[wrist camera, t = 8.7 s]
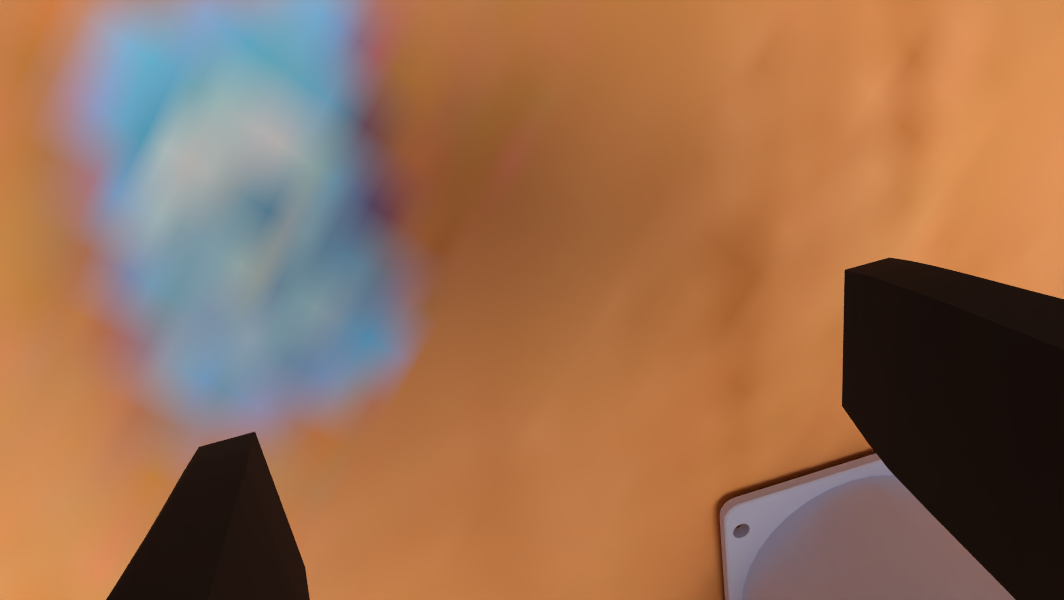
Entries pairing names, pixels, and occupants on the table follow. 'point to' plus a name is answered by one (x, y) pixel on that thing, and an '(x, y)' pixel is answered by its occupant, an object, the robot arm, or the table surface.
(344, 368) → the table surface
